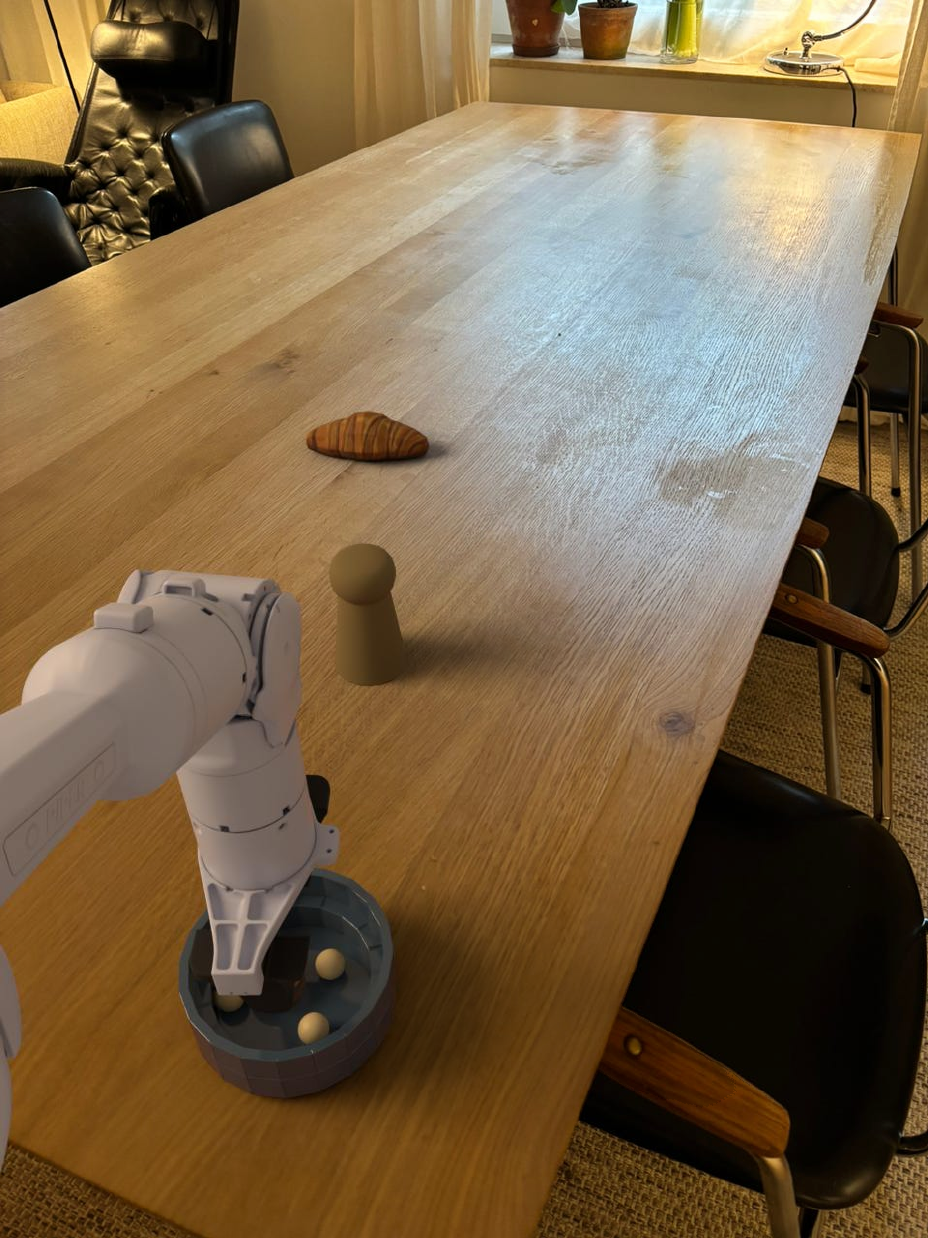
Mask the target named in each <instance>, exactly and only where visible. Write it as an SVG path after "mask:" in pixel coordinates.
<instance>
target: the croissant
mask: <svg viewBox="0 0 928 1238" xmlns="http://www.w3.org/2000/svg"><path fill="white" fill-rule="evenodd" d="M305 444H306V447H307V450H310V451H314V452H316V453H318V454H323V455H326V456H330V457H334V458H335V457H336V458H345V459H349V460H354V461H355V460H356V461H363V462H369V461H370V462H371V461H384V460H403V459H410V458H416V457H420V456H423V455H427V453H428V452H429V449H430V443H429V440H428V436H426V435H424V434H423V433H422V432H420V431H419V430H417V429H416V428H414V427H412V426H409V425H407V424H405V423H403V422H400V421H398V420H395V419H392V418H390V417H389V416H387V415H386V414H384V413H382V412H376V411H370V410H365V411H357V412H353V413H351V414H350V415H348V416H347V417H343V418H338V419H335V420H332V421H329V422H326V423H323V424H321V425H319V426H317V427H316V428H314V429H312V430H311V431H309V432H308V433H307V434H306V439H305Z"/></svg>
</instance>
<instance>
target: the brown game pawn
mask: <svg viewBox="0 0 928 1238" xmlns="http://www.w3.org/2000/svg"><path fill="white" fill-rule="evenodd" d="M328 577H329V582H330V583H329V584H330V586H331V588H332V591H334V593H335V594H336V596H337V611H336V633H335V636H336V637H335V654H334V655H335V657H334V664H335V670H336V671H337V673H338V674H339V675H340V677H341V678H343V679H344V680H346V681H347V682H348V683H352V684H356V685H358V686H370V687H371V686H378V685H383V684H385V683H388V682H390V681H393V680H394V679H396V678H398V677H399V676H400V675H401V674H402V673H403V672H404V669H405V668H406V666H407V662H408V656H407V651H406V646H405V643H404V640H403V635H402V631H401V627H400V622H399V619H398V614H397V610H396V605H395V603H394V598H393V595H392V590H393V588H394V586H395V582H396V578H397V568H396V564H395V561H394V558H393V557H392V556H391V555H390V554H389V552H388V551H387V550H386V549H385V548H382V546H379V545H376V544H372V543H363V542H362V543H361V542H360V543H355V544H350V545H348V546H346V547H345V546H344V547H343V548H342V549H340V550H339V551H338V552H336V554H335V555H334V556H333V558H332V559H331V561H330V564H329V568H328Z"/></svg>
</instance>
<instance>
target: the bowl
mask: <svg viewBox="0 0 928 1238" xmlns="http://www.w3.org/2000/svg"><path fill="white" fill-rule="evenodd" d="M197 929H211V925H210V920H209V914H208V909H207V907H206V908H205V910H204V911H203V913H202V914H201V915H200V916H199V918H198V919H197V920H196V922H195V923H194V925H193V926H192V927H191V929H190V930H189V932H188V935H187V937H186V940H185V943H184V946H183V948H182V951H181V954H180V957H179V959H178V970H177V971H178V972H177V973H178V976H177V977H178V979H177V982H178V984H177V985H178V986H177V992H178V996H179V998H180V1001H181V1004H182V1006H183V1008H184V1012H185V1014H186V1017H187V1020H188V1022H189V1025H190V1027H191V1030H192V1033H193V1036H194V1038H195V1041H196V1043H197V1047H198V1048H199V1050H200V1053H201V1056H202V1058H203V1059H204V1060H205V1062H206V1063H207V1064H208V1065H209V1066H210V1067H211V1068H212V1069H213V1070H214V1071H215V1073H216V1074H217V1075H218V1076H219V1077H220V1078H221V1080H223V1081H224V1082H226V1083H228V1084H230V1085H232V1086H234V1087H236V1088H239V1089H240V1090H242V1091H244V1092H246V1093H249V1094H251V1095H255V1096H265V1097H273V1098H282V1099H290V1098H295V1097H300V1096H304V1095H310V1094H314V1093H319V1092H321V1091H325V1090H326V1089H328V1088H329V1087H332V1086H333V1085H335V1084H337V1083H339V1082H341V1081H342V1080H345V1079H346V1078H348V1077H349V1076H352V1075H353V1074H354V1073H355V1072H356V1071H357V1070H358V1069H359V1068H360V1067H361V1066H362V1065H363V1064H364V1063H365V1062H366V1061H367V1060H368V1059H369V1058H370V1057H371V1056H372V1055H373V1054H374V1053H375V1052H376V1051H377V1049H378V1048H379V1046H380V1044H381V1042H382V1041H383V1038H384V1037H385V1035H386V1033H387V1031H388V1029H389V1028H390V1025H391V1023H392V1022H393V1019H394V1014H395V1010H396V1009H395V1008H396V1003H397V997H398V992H399V991H398V990H399V985H398V977H397V970H396V969H397V968H396V959H395V950H394V944H393V937H392V931H391V925H390V923H389V919H388V918H387V916H386V914H385V913H384V911H383V909H382V908H381V906H380V904H379V903H378V901H377V899H376V897H374V896H373V895H372V894H371V893H370V892H369V891H367V890H366V889H365V888H364V887H363V886H362V885H360V884H359V883H358V882H356V881H355V880H354V879H352V878H350V877H348V876H345V875H344V874H343V875H342V874H340V873H337V872H335V871H332V870H330V869H327V868H321V867H316V868H314V869H313V871H312V873H311V879H310V883H309V886H308V887H303V888H302V890H301V891H300V893H299V895H298V897H297V898H296V900H295V902H294V904H293V905H292V907H291V909H290V910H289V912H288V914H287V916H286V917H285V919H284V921H283V923H282V924H281V926H280V928H279V930H278V931H277V933H276V935H311V937H310V944H309V952H308V959H307V964H306V968H305V971H304V974H305V979H306V984H305V989H304V992H303V994H302V996H301V997H300V999H299V1000H298V1001H297V1002H296V1003H295V1004H294V1005H293V1006H292V1007H291V1009H290V1010H289V1011H282V1012H278V1013H265V1012H262V1011H254V1010H253V1009H252V1008H251V1007H250V1006H249V1005H248V1004H247V1003H246V1002H245V1001H244V1003H243V1004H242V1006H241V1007H240V1008H238V1009H237V1010H235V1011H232V1012H226V1011H223V1010H221V1009H220V1008H219V1007H218V1006H217V1005H216V1003H215V991H216V986H215V984H212V983H208V982H202V981H198V980H196V979H195V977H194V975H193V972H192V969H191V967H190V962H189V961H190V954H191V950H192V946H193V941H194V937H195V933H196V930H197ZM326 949H336V950H338V951H339V952H341V953H342V955H343V956H344V959H345V969H344V971H343V973H342V974H341V975H340V976H339V977H338V978H336V979H333V980H326V979H324V978H322V977H321V976H320V975H319V974H318V973H317V970H316V960H317V957H318V956H319V954H320V953H321V952H323V951H324V950H326ZM312 1012H317V1013H320V1014H322V1015H324V1016H325V1017H326V1019H327V1020H328V1023H329V1034H328V1035H327V1036H326V1037H324V1038H322V1039H320V1040H318V1041H316V1042H314V1043H312V1044H310V1045H307V1044H305V1043H303V1042H302V1040H301V1039H300V1037H299V1034H298V1026H299V1023H300V1021H301V1019H302V1018H303V1017H304V1016H305V1015H307V1014H309V1013H312Z"/></svg>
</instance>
